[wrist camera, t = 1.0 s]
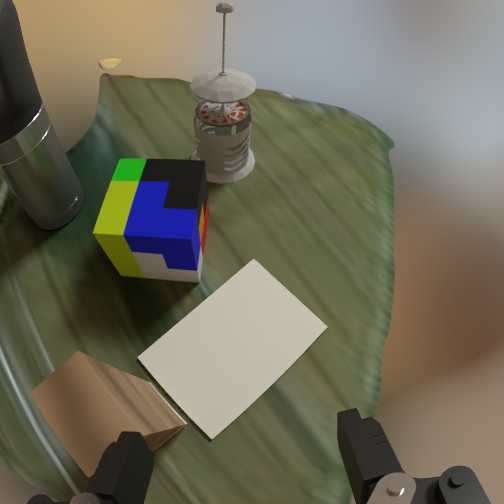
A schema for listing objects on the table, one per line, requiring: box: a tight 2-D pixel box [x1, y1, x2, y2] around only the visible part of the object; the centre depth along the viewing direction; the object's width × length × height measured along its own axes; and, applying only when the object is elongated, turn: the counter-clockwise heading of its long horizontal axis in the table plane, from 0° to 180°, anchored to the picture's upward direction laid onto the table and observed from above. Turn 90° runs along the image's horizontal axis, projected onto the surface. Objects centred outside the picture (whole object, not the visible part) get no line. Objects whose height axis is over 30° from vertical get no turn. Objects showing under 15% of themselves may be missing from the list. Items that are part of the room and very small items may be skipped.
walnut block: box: [30, 350, 187, 478], centre depth 22 cm, size 4×6×18 cm
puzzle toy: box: [93, 159, 209, 283], centre depth 35 cm, size 10×10×10 cm
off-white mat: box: [138, 259, 327, 439], centre depth 34 cm, size 18×12×1 cm, turn 135°
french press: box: [190, 2, 256, 184], centre depth 36 cm, size 10×12×25 cm
